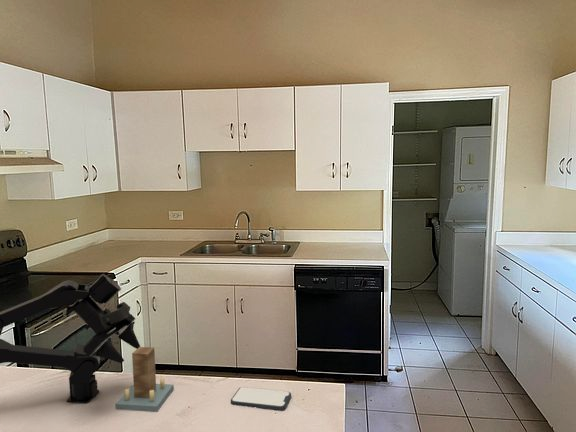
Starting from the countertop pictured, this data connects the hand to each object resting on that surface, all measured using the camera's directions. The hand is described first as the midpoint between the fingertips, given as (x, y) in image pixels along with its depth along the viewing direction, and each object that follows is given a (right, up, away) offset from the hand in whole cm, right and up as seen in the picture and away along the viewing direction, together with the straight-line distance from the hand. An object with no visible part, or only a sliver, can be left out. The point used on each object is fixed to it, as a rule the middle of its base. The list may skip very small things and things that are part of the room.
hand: (131, 354), depth 125 cm
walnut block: (+4, -12, +1) cm, 12 cm away
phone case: (+37, -14, +1) cm, 39 cm away
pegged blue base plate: (+4, -13, +1) cm, 14 cm away
